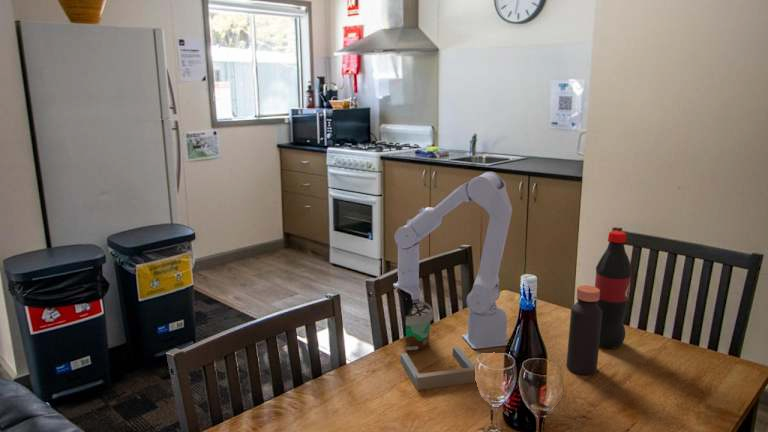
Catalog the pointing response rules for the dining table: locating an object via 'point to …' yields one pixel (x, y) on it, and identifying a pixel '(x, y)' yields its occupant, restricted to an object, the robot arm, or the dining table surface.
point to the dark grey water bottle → (584, 331)
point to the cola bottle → (613, 290)
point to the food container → (418, 326)
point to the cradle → (441, 373)
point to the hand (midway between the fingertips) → (407, 314)
